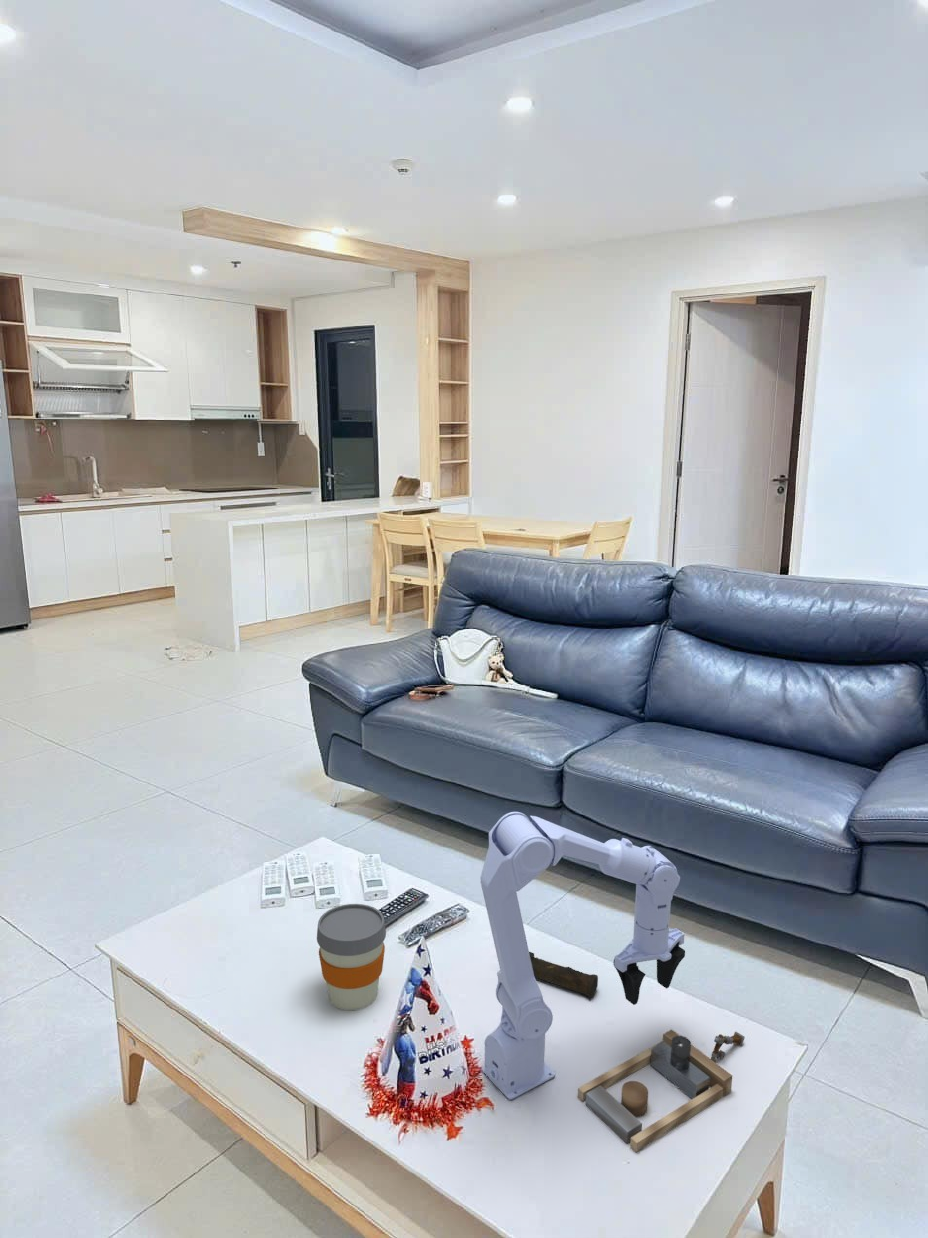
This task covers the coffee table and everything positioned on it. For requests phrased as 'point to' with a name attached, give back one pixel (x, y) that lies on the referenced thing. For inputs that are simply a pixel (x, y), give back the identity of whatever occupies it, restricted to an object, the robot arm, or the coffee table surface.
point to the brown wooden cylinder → (635, 1098)
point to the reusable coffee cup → (351, 954)
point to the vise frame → (632, 1127)
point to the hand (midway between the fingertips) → (647, 992)
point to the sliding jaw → (679, 1066)
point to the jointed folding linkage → (727, 1040)
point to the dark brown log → (564, 976)
